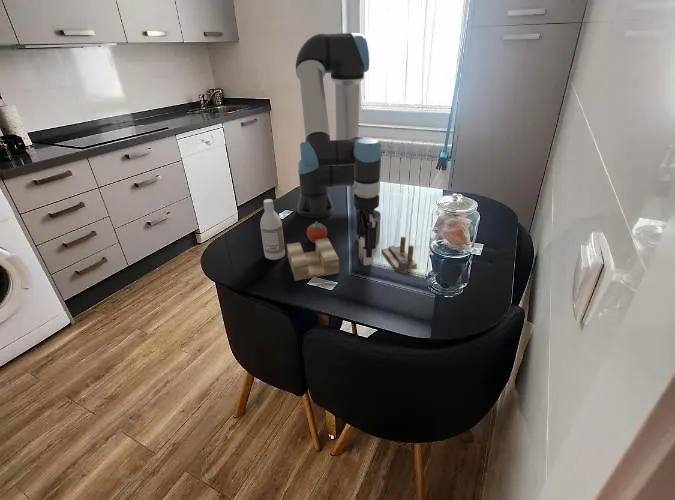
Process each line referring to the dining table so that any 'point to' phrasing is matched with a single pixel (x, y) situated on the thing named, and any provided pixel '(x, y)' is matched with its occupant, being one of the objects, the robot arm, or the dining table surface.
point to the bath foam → (272, 232)
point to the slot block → (313, 260)
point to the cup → (377, 218)
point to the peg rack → (400, 256)
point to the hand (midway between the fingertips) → (365, 260)
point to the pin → (362, 244)
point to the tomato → (316, 232)
